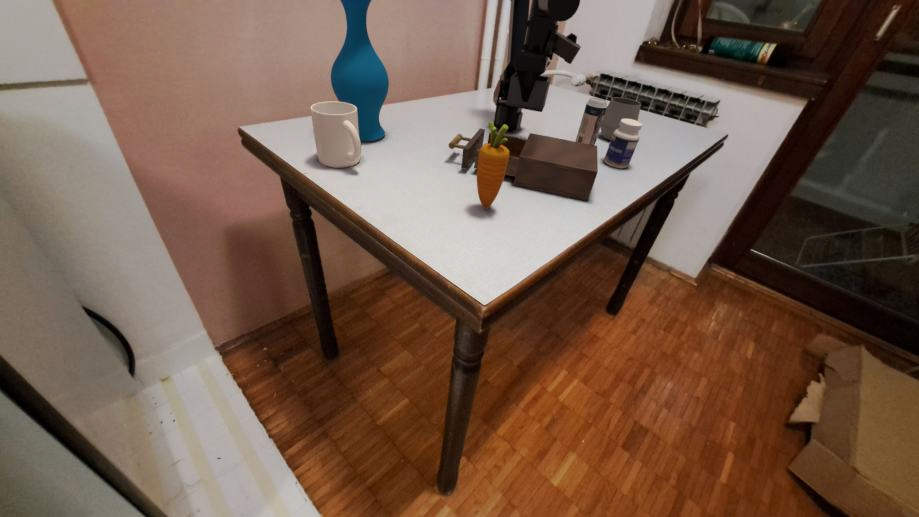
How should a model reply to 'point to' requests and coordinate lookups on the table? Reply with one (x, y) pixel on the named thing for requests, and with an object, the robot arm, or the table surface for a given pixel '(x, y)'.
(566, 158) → the cabinet
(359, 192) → the table surface
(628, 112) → the cup
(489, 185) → the carrot
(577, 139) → the spice jar
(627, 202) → the table surface
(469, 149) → the drawer
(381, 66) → the vase
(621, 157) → the pill bottle
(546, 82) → the black open box
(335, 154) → the mug
